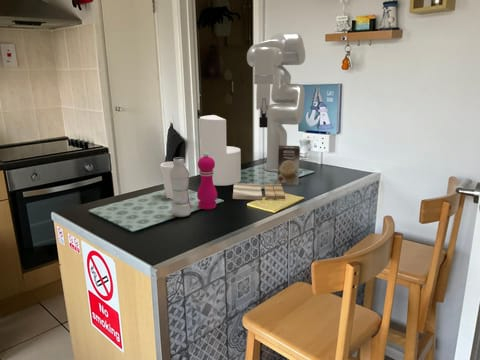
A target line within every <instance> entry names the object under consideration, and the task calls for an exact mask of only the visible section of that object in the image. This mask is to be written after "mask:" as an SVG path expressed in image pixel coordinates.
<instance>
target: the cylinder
mask: <svg viewBox="0 0 480 360" xmlns="http://www.w3.org/2000/svg"><path fill="white" fill-rule="evenodd" d="M199 130H200V131H199V133H200V135H199V136H200V158H202V157H204V153H208V154H209V156H208V157H211V158H212V159H213V160H214V162H215V167H214V168H213V171H214V172H213V173H214V174H213V176H212V179H213V184H214V186H230V185H231V186H232V185H234V183H240V182H241V180H242V177H241V175H242V171H241V169H242V167H241V163H242V162H241V157H242V156H241V155H242V154H241V148H240V147H236V146H228V145H227V119H225V118H223V117H220V116H218V115H216V114H211V115H203V116H199Z"/></svg>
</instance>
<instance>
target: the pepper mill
mask: <svg viewBox="0 0 480 360" xmlns="http://www.w3.org/2000/svg"><path fill="white" fill-rule="evenodd" d="M208 156H209V154H208V153H204V157H202V158H201V157H200V158H199V159H198V162H197V167H198V169H199V175H200V185H199V187H198V190H197V193H196V195H197V197H196V198H197V199H198V200H199V202H198V208H199V209H202V210H212V209H215V208H216V207H217V201H216V200H217V198H218V192H217V189H216V187H215V185H214V184H213V179H212V176H213V174H214V173H213V172H214V171H213V168H214V167H215V162H214V160H213V159H212V158H211V157H208Z"/></svg>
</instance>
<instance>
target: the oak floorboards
mask: <svg viewBox="0 0 480 360" xmlns="http://www.w3.org/2000/svg"><path fill="white" fill-rule="evenodd" d="M263 190H264V197H266V198H265V200H266V199H275V200H276V199H285V200H286V194H285V192H284V188H283V186H282V184H277V183H264V184H263Z"/></svg>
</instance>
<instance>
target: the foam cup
mask: <svg viewBox="0 0 480 360" xmlns="http://www.w3.org/2000/svg"><path fill="white" fill-rule="evenodd" d="M173 166H174V164H173V161H165V162H162V163H160V166H159V167H160V168H159V169H160V173H161V178H162V182H163V187H164V193H165V197H166V198H167V199H168V198H170V199H169V200H172V197H173V193H172V185H171V180H170V171H171V169H172V168H173ZM184 166H185V167H186V163H185V164H184Z"/></svg>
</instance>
